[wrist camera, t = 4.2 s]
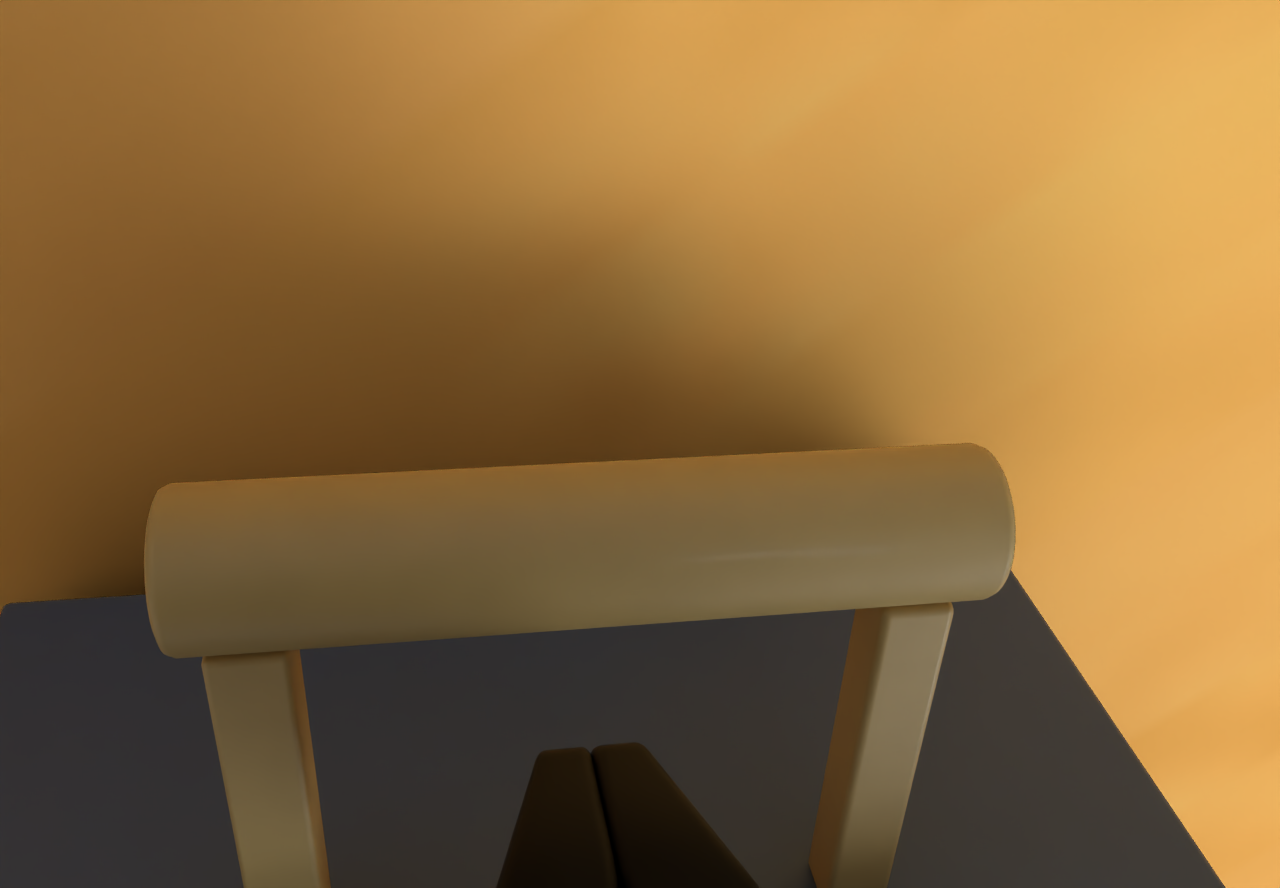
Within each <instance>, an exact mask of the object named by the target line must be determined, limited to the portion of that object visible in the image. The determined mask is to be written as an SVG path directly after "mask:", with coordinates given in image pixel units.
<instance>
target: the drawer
mask: <svg viewBox="0 0 1280 888" xmlns="http://www.w3.org/2000/svg"><path fill="white" fill-rule="evenodd" d="M1014 550H1015V516H1014V508H1013V502H1012V497H1011V493H1010V489H1009V486H1008V483H1007V479H1006V477H1005V475H1004V472H1003V470H1002V468H1001V466H1000V464H999V463H998V461H997V460H996V458H995V457H994V456H993V455H992V454H991V453H990V452H989V451H988V450H987V449H985V448H983V447H980V446H978V445H975V444H972V443H962V444H942V445H922V446H902V447H882V448H862V449H842V450H822V451H802V452H782V453H762V454H742V455H722V456H702V457H682V458H662V459H642V460H622V461H602V462H582V463H562V464H542V465H522V466H502V467H482V468H462V469H442V470H422V471H402V472H382V473H362V474H342V475H322V476H302V477H282V478H262V479H242V480H222V481H202V482H182V483H170V484H168V485H165V486H163V487H161V488H160V489H158V491H157V492H156V494H155V496H154V499H153V502H152V505H151V508H150V511H149V515H148V520H147V526H146V534H145V547H144V579H145V593H146V594H142V595H126V596H111V597H95V598H80V599H64V600H48V601H33V602H17V603H9V604H6V605H5V606H4V607H3V610H2V612H1V615H0V888H496V886H497V883H498V880H499V877H500V873H501V870H502V867H503V864H504V861H505V857H506V854H507V851H508V848H509V844H510V841H511V838H512V835H513V831H514V828H515V825H516V822H517V818H518V815H519V812H520V809H521V805H522V802H523V799H524V796H525V793H526V789H527V786H528V783H529V780H530V776H531V773H532V770H533V767H534V763H535V760H536V758H537V756H538V755H539V753H541V752H542V751H545V750H553V749H564V748H575V747H584V748H586V749H588V751H589V752H590V754H591V752H592V750H593V749H594V748H595V747H597V746H599V745H609V744H620V743H631V742H637V743H640V744H642V745H644V746H645V747H646V748H647V749H648V750H649V751H650V753H651V754H652V755H653V756H654V757H655V759H656V760H657V761H658V762H659V764H660V765H661V766H662V767H663V769H664V770H665V771H666V772H667V773H668V775H669V776H670V777H671V778H672V780H673V781H674V782H675V783H676V785H677V786H678V787H679V788H680V789H681V791H682V792H683V793H684V794H685V796H686V797H687V798H688V799H689V801H690V802H691V803H692V804H693V805H694V807H695V808H696V809H697V810H698V812H699V813H700V814H701V815H702V817H703V818H704V819H705V820H706V822H707V823H708V824H709V825H710V826H711V828H712V829H713V830H714V831H715V833H716V834H717V835H718V836H719V838H720V839H721V840H722V841H723V842H724V844H725V845H726V846H727V847H728V849H729V850H730V851H731V852H732V854H733V855H734V856H735V857H736V858H737V860H738V861H739V862H740V863H741V865H742V866H743V867H744V868H745V870H746V871H747V872H748V873H749V874H750V876H751V877H752V878H753V879H754V881H755V882H756V883H757V884H758V886H759V887H760V888H1225V886H1224V885H1223V883H1222V882H1221V880H1220V879H1219V877H1218V876H1217V874H1216V873H1215V871H1214V870H1213V869H1212V867H1211V866H1210V864H1209V863H1208V861H1207V860H1206V858H1205V857H1204V855H1203V854H1202V852H1201V851H1200V849H1199V848H1198V846H1197V845H1196V843H1195V842H1194V840H1193V839H1192V837H1191V836H1190V835H1189V833H1188V832H1187V830H1186V829H1185V827H1184V826H1183V824H1182V823H1181V821H1180V820H1179V818H1178V817H1177V815H1176V814H1175V812H1174V811H1173V809H1172V808H1171V806H1170V805H1169V803H1168V802H1167V800H1166V799H1165V798H1164V796H1163V795H1162V793H1161V792H1160V790H1159V789H1158V787H1157V786H1156V784H1155V783H1154V781H1153V780H1152V778H1151V777H1150V775H1149V774H1148V772H1147V771H1146V769H1145V768H1144V766H1143V765H1142V763H1141V762H1140V761H1139V759H1138V758H1137V756H1136V755H1135V753H1134V752H1133V750H1132V749H1131V747H1130V746H1129V744H1128V743H1127V741H1126V740H1125V738H1124V737H1123V735H1122V734H1121V732H1120V731H1119V729H1118V728H1117V727H1116V725H1115V724H1114V722H1113V721H1112V719H1111V718H1110V716H1109V715H1108V713H1107V712H1106V710H1105V709H1104V707H1103V706H1102V704H1101V703H1100V701H1099V700H1098V698H1097V697H1096V695H1095V694H1094V692H1093V691H1092V690H1091V688H1090V687H1089V685H1088V684H1087V682H1086V681H1085V679H1084V678H1083V676H1082V675H1081V673H1080V672H1079V670H1078V669H1077V667H1076V666H1075V664H1074V663H1073V661H1072V660H1071V658H1070V657H1069V655H1068V654H1067V653H1066V651H1065V650H1064V648H1063V647H1062V645H1061V644H1060V642H1059V641H1058V639H1057V638H1056V636H1055V635H1054V633H1053V632H1052V630H1051V629H1050V627H1049V626H1048V624H1047V623H1046V621H1045V620H1044V618H1043V617H1042V616H1041V614H1040V613H1039V611H1038V610H1037V608H1036V607H1035V605H1034V604H1033V602H1032V601H1031V599H1030V598H1029V596H1028V595H1027V593H1026V592H1025V590H1024V589H1023V587H1022V586H1021V584H1020V583H1019V582H1018V580H1017V579H1016V577H1015V576H1014V574H1013V573H1012V571H1011V567H1012V562H1013V557H1014Z"/></svg>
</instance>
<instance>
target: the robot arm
mask: <svg viewBox="0 0 1280 888" xmlns="http://www.w3.org/2000/svg"><path fill="white" fill-rule="evenodd" d="M496 888H760V887H759V886H758V884H757V883H756V882H755V881H754V879H753V878H752V877H751V876H750V874H749V873H748V872H747V871H746V870H745V868H744V867H743V866H742V865H741V863H740V862H739V861H738V860H737V858H736V857H735V856H734V855H733V854H732V852H731V851H730V850H729V849H728V847H727V846H726V845H725V844H724V842H723V841H722V840H721V839H720V838H719V836H718V835H717V834H716V833H715V831H714V830H713V829H712V828H711V826H710V825H709V824H708V823H707V822H706V820H705V819H704V818H703V817H702V815H701V814H700V813H699V812H698V810H697V809H696V808H695V807H694V805H693V804H692V803H691V802H690V801H689V799H688V798H687V797H686V796H685V794H684V793H683V792H682V791H681V789H680V788H679V787H678V786H677V785H676V783H675V782H674V781H673V780H672V778H671V777H670V776H669V775H668V773H667V772H666V771H665V770H664V769H663V767H662V766H661V765H660V764H659V762H658V761H657V760H656V759H655V757H654V756H653V755H652V754H651V753H650V751H649V750H648V749H647V748H646V747H645V746H644V745H642V744H640V743H637V742H631V743H620V744H609V745H599V746H597V747H595V748H594V749H593V750H592V752H591V754H590V752H589V751H588V749H586V748H584V747H575V748H564V749H553V750H545V751H542V752H541V753H539V755H538V756H537V758H536V760H535V763H534V767H533V770H532V773H531V776H530V780H529V783H528V786H527V789H526V793H525V796H524V799H523V802H522V805H521V809H520V812H519V815H518V818H517V822H516V825H515V828H514V831H513V835H512V838H511V841H510V844H509V848H508V851H507V854H506V857H505V861H504V864H503V867H502V870H501V873H500V877H499V880H498V883H497V886H496Z"/></svg>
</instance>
